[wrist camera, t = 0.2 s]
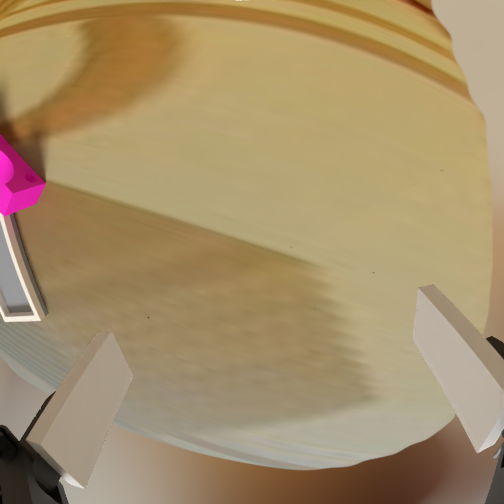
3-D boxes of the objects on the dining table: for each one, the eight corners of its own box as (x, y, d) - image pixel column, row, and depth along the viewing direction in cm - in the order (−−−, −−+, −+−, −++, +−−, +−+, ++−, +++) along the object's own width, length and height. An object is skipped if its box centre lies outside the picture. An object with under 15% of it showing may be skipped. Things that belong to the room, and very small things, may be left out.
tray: (-23, 218, 36) (-32, 222, 34) (11, 203, 36) (0, 207, 33) (12, 315, 43) (4, 321, 41) (48, 313, 42) (40, 320, 40)
